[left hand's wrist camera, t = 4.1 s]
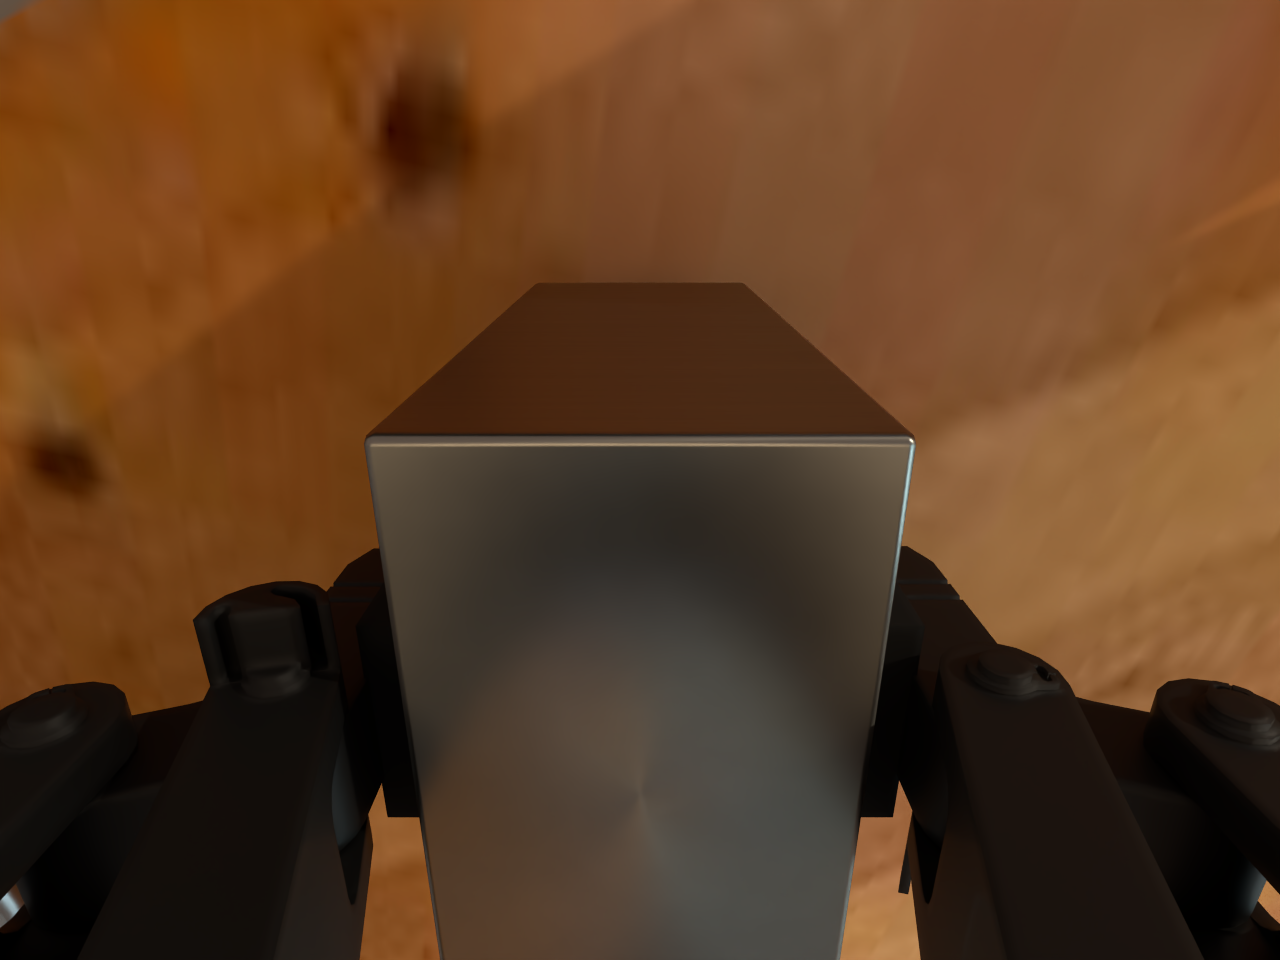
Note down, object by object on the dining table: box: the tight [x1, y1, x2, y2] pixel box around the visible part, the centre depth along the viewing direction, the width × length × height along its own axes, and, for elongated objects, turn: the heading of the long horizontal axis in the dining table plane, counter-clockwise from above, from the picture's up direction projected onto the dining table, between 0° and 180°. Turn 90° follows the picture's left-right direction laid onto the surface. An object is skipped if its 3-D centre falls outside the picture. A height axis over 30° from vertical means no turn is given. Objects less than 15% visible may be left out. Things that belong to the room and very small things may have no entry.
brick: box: [364, 283, 916, 960], centre depth 12 cm, size 5×8×11 cm, turn 0°
